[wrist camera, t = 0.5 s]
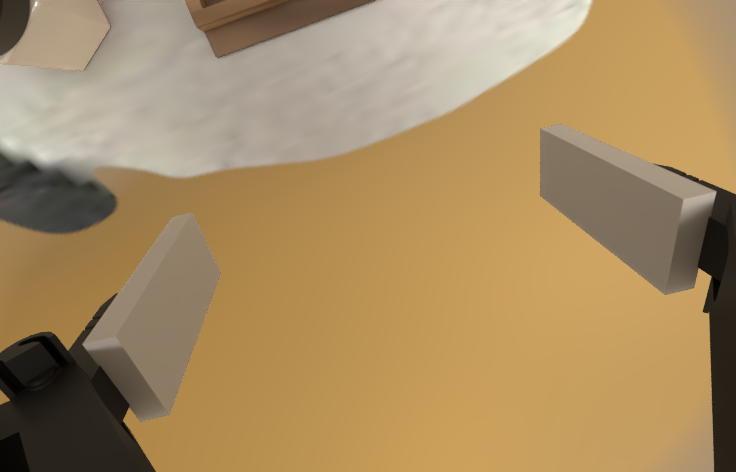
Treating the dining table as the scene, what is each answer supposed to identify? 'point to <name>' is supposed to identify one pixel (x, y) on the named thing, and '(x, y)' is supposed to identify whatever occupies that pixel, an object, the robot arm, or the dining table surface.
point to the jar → (51, 33)
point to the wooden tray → (258, 19)
